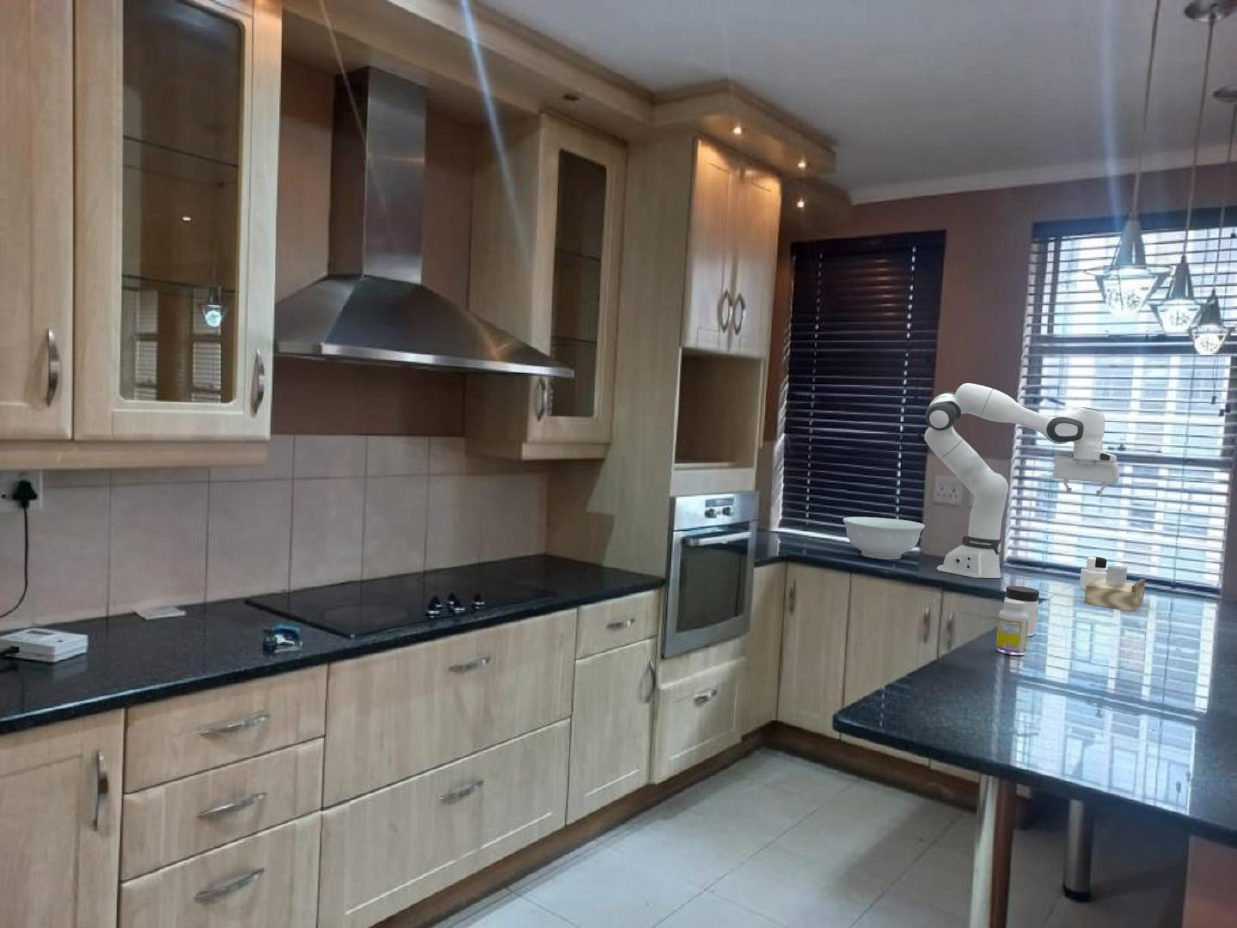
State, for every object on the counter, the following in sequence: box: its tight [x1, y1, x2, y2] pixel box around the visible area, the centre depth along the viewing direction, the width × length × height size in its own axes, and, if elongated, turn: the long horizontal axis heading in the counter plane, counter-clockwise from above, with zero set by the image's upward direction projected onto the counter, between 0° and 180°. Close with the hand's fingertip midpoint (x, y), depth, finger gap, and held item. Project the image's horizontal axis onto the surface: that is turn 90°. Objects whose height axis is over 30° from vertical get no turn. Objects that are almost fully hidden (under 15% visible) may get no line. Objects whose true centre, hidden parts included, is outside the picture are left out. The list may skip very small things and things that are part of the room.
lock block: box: [1106, 564, 1128, 587], centre depth 281 cm, size 5×5×6 cm
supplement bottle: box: [995, 599, 1028, 653], centre depth 209 cm, size 7×7×13 cm
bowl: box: [842, 516, 925, 561], centre depth 350 cm, size 32×32×15 cm
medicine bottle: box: [1079, 556, 1108, 592], centre depth 301 cm, size 7×7×12 cm
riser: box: [1083, 578, 1146, 613], centre depth 281 cm, size 14×20×8 cm
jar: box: [1003, 585, 1040, 633], centre depth 231 cm, size 9×8×12 cm
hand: (1083, 494), depth 297 cm, fingers open, 8 cm apart
